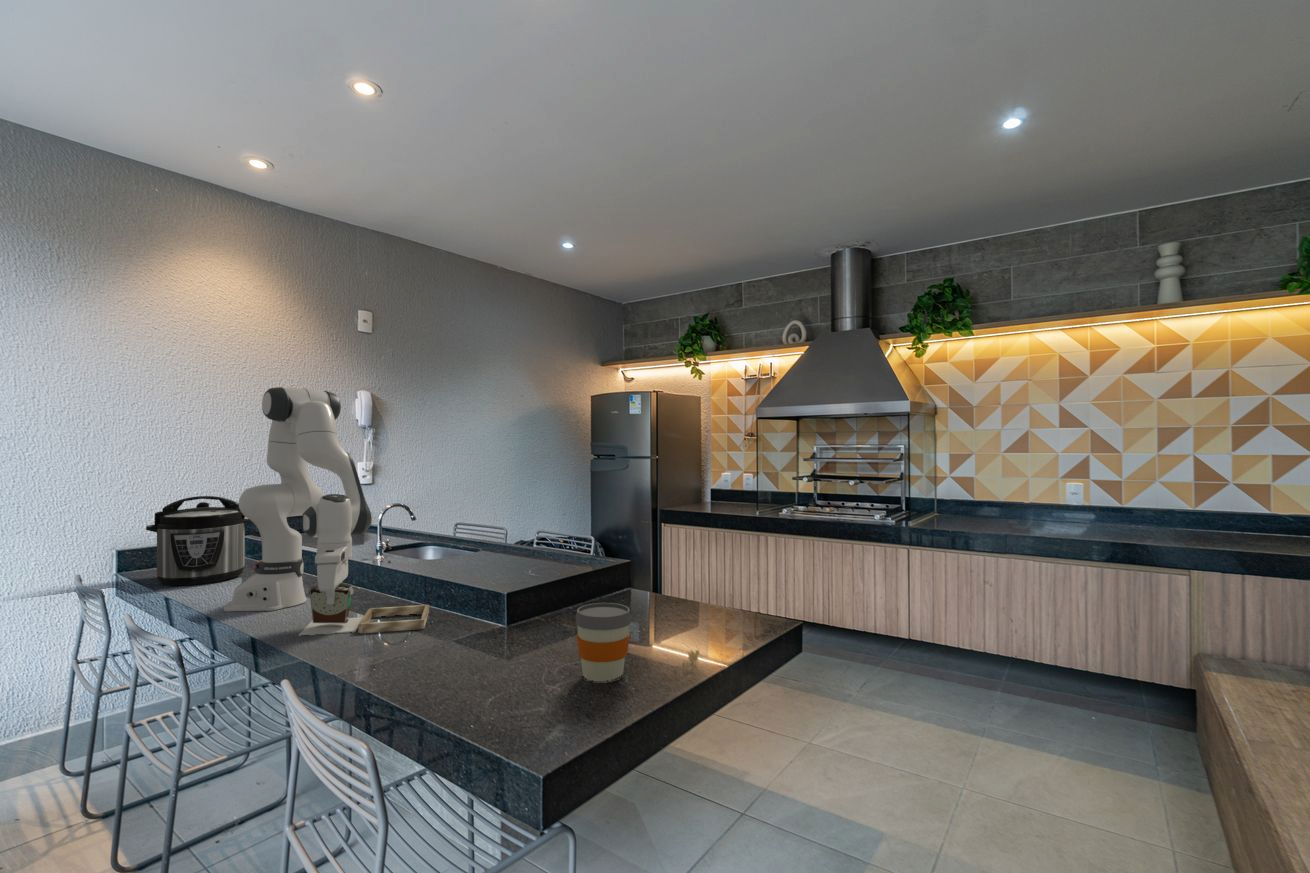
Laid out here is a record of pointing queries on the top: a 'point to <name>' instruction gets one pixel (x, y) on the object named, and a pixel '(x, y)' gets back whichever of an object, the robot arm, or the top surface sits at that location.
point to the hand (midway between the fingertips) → (334, 600)
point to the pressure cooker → (199, 542)
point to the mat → (332, 627)
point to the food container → (334, 611)
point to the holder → (393, 625)
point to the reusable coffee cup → (603, 639)
